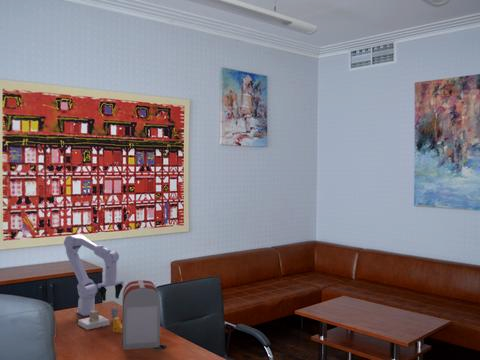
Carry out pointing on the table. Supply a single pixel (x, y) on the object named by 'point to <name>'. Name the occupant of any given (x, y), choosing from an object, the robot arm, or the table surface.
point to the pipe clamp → (117, 325)
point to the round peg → (114, 314)
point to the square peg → (94, 315)
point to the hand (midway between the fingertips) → (110, 299)
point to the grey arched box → (140, 315)
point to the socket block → (93, 323)
